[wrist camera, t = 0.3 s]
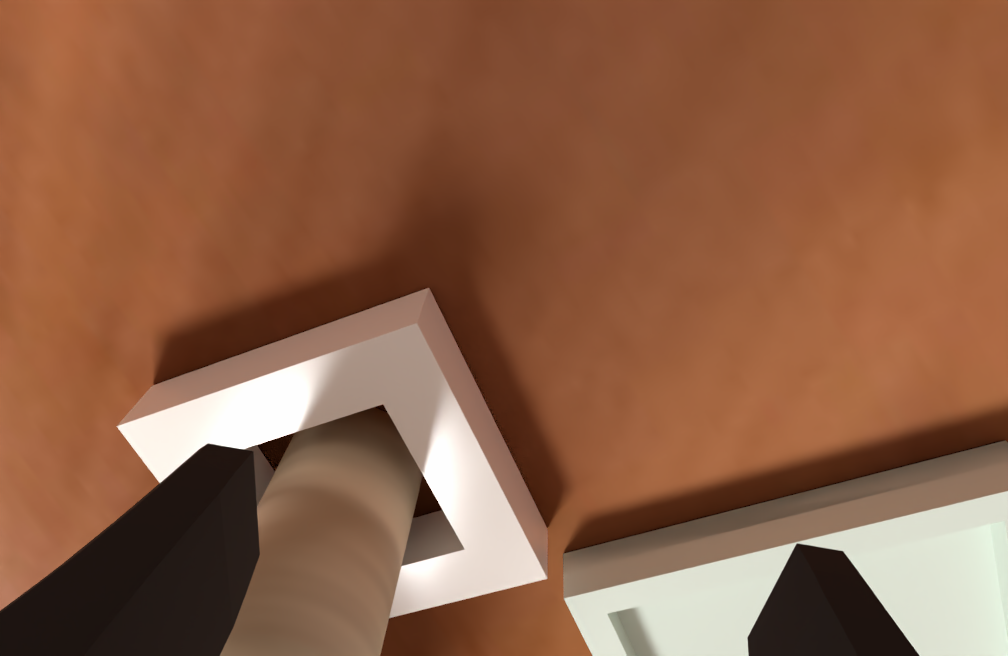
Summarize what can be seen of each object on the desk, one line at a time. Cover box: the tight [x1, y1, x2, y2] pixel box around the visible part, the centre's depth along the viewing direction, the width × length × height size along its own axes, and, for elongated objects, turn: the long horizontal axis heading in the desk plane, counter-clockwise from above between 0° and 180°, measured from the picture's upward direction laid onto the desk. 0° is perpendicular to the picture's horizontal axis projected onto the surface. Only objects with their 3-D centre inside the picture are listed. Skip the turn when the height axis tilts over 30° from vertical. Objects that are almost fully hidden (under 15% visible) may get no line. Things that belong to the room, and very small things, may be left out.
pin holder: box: [117, 288, 548, 618], centre depth 22 cm, size 9×9×2 cm
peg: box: [220, 407, 423, 656], centre depth 19 cm, size 4×4×8 cm
